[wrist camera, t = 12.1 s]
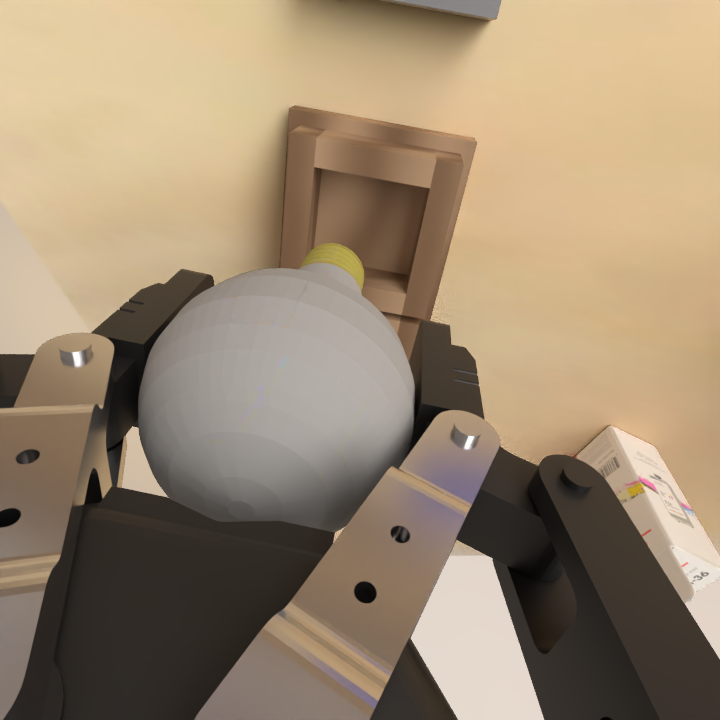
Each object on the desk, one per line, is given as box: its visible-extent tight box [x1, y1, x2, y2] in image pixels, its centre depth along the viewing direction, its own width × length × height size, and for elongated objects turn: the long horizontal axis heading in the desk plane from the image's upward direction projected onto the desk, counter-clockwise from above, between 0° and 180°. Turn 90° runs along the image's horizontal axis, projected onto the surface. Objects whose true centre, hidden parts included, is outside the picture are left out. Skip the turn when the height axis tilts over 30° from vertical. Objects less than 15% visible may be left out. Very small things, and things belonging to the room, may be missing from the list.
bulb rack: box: [280, 106, 477, 362], centre depth 33 cm, size 11×21×4 cm, turn 171°
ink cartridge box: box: [574, 426, 720, 604], centre depth 36 cm, size 9×5×15 cm, turn 153°
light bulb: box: [138, 243, 416, 532], centre depth 12 cm, size 5×5×10 cm
